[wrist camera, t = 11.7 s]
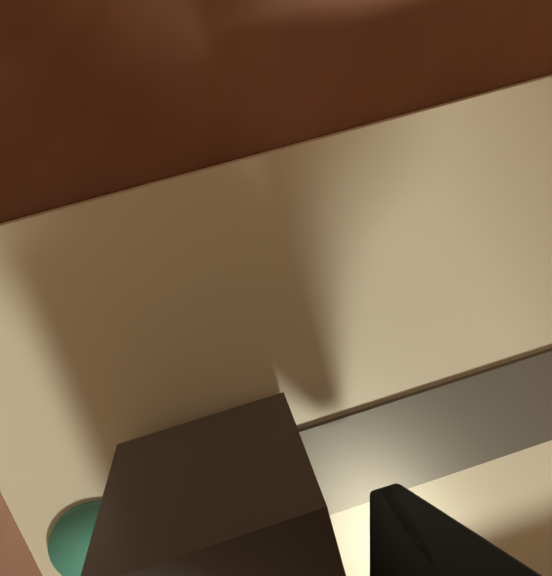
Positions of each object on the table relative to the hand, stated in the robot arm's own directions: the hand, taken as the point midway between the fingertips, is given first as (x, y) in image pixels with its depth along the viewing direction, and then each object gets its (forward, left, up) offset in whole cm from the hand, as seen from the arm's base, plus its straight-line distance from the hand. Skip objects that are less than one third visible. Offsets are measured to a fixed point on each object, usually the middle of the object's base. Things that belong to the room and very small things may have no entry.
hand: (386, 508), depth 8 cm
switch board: (-1, +8, -4) cm, 9 cm away
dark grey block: (+3, 0, -1) cm, 3 cm away
